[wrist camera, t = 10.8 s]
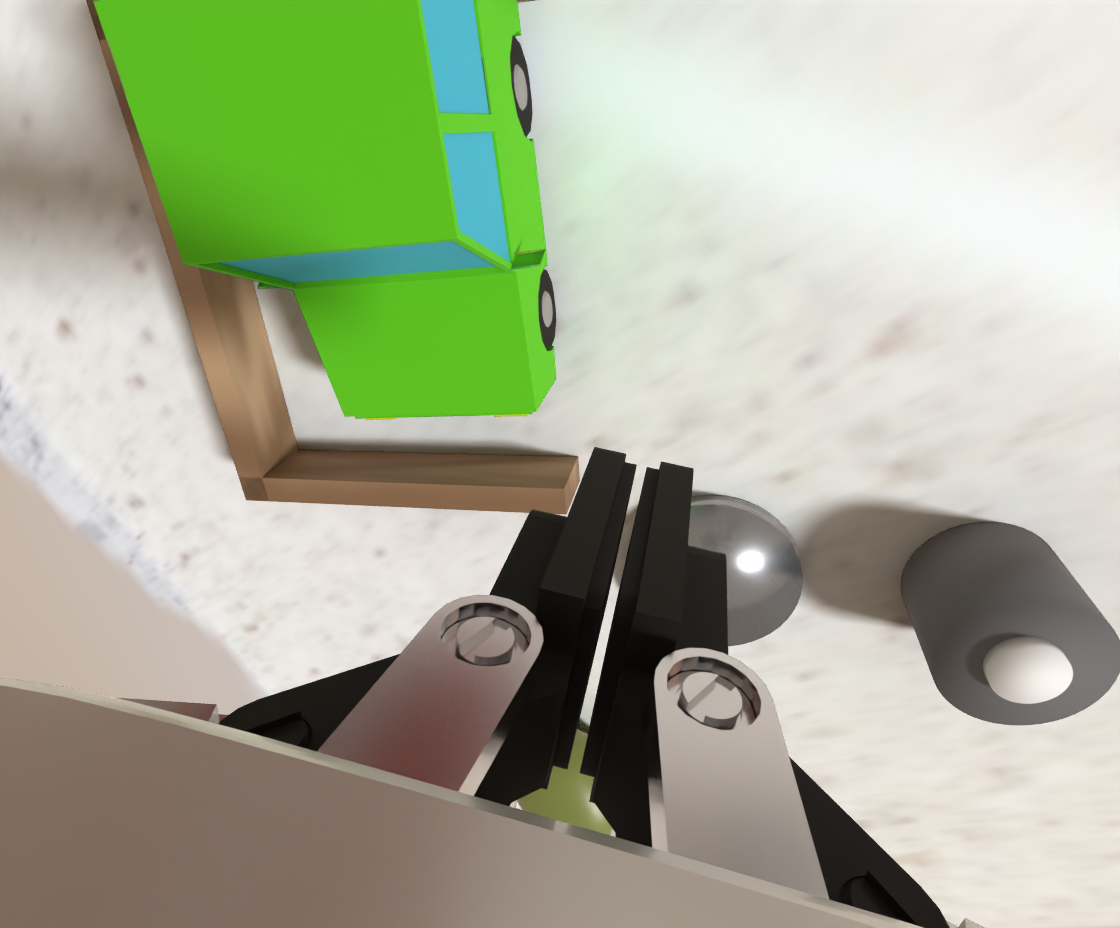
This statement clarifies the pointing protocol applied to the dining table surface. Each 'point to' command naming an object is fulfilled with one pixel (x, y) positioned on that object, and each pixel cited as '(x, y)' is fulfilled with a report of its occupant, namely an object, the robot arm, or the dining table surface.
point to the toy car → (358, 183)
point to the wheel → (1007, 626)
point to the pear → (568, 794)
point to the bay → (264, 424)
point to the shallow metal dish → (749, 563)
